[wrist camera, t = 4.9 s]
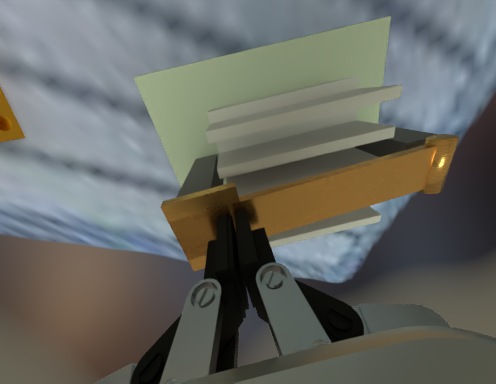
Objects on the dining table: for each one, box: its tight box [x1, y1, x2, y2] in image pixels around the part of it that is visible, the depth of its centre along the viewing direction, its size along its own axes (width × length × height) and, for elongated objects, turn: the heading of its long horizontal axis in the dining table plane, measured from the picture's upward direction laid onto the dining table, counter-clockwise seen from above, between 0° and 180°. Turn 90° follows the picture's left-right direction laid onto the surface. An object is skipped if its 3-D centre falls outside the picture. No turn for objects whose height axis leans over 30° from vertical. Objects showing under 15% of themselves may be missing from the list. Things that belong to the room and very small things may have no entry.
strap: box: [161, 134, 459, 271], centre depth 11 cm, size 18×5×1 cm, turn 102°
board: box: [134, 16, 438, 248], centre depth 18 cm, size 24×20×10 cm
